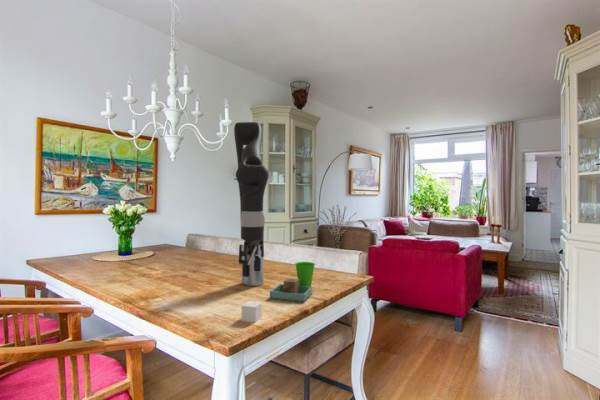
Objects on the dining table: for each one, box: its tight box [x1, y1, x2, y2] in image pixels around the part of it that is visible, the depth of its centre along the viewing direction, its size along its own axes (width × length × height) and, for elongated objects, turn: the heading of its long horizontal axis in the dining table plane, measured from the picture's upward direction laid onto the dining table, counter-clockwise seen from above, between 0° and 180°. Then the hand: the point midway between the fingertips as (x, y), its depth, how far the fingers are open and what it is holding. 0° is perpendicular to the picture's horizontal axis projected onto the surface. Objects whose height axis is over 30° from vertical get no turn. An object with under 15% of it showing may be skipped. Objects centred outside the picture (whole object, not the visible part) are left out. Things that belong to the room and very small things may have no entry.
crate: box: [269, 283, 313, 303], centre depth 132 cm, size 14×11×3 cm
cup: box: [294, 261, 316, 287], centre depth 143 cm, size 9×9×11 cm
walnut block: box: [283, 278, 299, 294], centre depth 132 cm, size 5×5×6 cm
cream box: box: [241, 300, 263, 323], centre depth 107 cm, size 5×5×5 cm
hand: (251, 273), depth 107 cm, fingers open, 8 cm apart
